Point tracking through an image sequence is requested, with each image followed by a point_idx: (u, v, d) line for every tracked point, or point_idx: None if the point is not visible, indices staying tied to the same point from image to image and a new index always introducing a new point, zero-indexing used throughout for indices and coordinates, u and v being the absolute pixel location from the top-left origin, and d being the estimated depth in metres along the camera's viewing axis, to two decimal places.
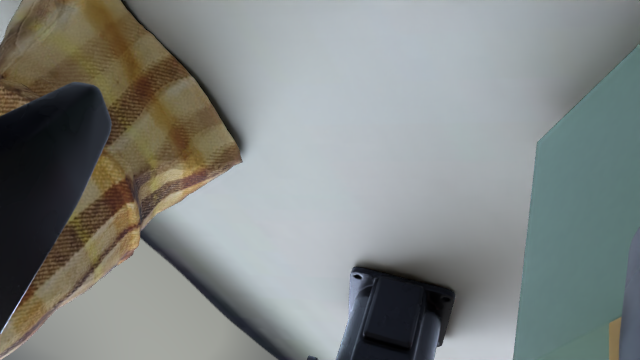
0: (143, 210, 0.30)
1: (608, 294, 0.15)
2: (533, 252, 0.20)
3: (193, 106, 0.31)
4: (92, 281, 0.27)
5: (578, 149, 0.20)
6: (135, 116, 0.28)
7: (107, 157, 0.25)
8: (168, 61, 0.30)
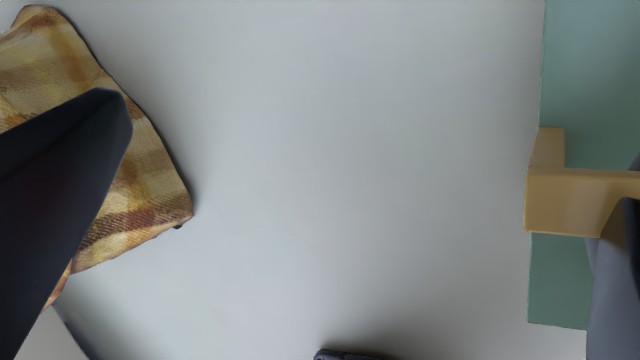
0: None
1: None
2: None
3: (145, 147, 0.31)
4: None
5: None
6: None
7: None
8: None
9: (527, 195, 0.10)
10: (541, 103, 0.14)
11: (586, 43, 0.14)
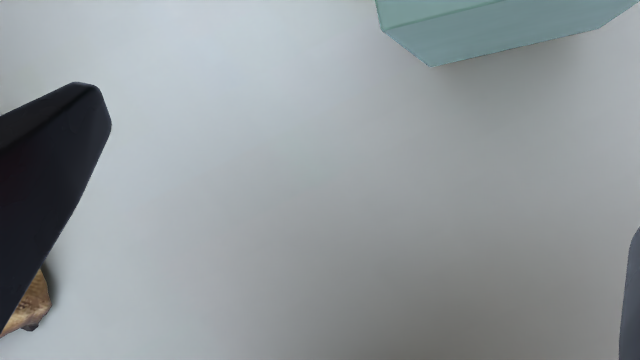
0: None
1: None
2: None
3: None
4: None
5: None
6: None
7: None
8: None
9: None
10: None
11: None
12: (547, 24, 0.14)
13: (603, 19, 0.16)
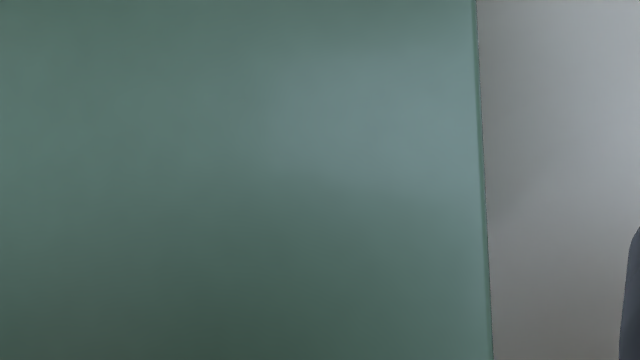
0: None
1: None
2: None
3: None
4: None
5: None
6: None
7: None
8: None
9: None
10: None
11: None
12: None
13: None
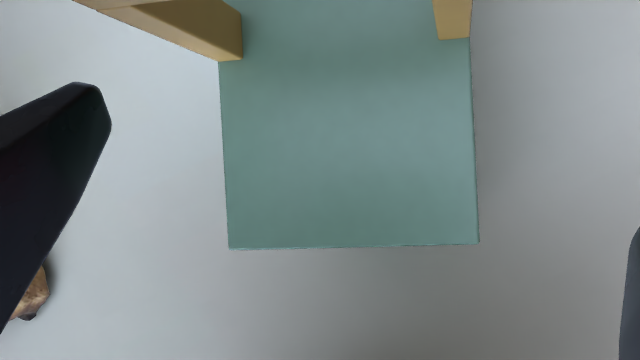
0: None
1: None
2: None
3: None
4: None
5: None
6: None
7: None
8: None
9: None
10: None
11: None
12: None
13: None
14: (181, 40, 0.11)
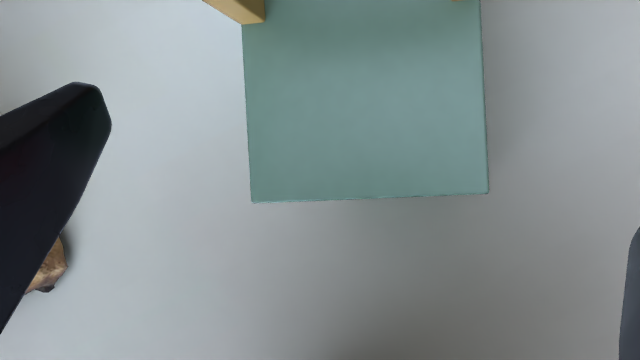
0: None
1: None
2: None
3: None
4: None
5: None
6: None
7: None
8: None
9: None
10: None
11: None
12: None
13: None
14: None
